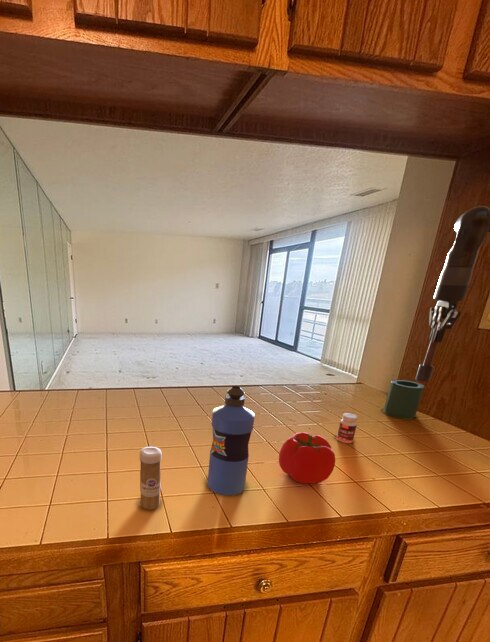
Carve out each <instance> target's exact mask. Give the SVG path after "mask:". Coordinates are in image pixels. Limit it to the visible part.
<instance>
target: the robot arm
mask: <svg viewBox="0 0 490 642" xmlns="http://www.w3.org/2000/svg"><path fill="white" fill-rule="evenodd" d="M454 231H455V234H456V237H455V240H454V243H453V246H452V247H451V248H450V249H449V251H448V253H447V256H446V259H445V263H444V265H443V269H442V271H441V273H440V276H439V279H438V282H437V285H436V289H435V292H434V295H433V299H434V300H435V301H437V302H436V303H435V307H430V309H429V315H428V316H429V317H428V326H430V328H431V330H430V333H429V337H428V340H429V341H431V338H432V335H433V332H434V329H435V325H438V326H437V330H436V333H435V336H434V339H433V341H434V342H439V343H442V342H443V340H444V336H445V333H446V331H448V330H451V329H452V328H453V326H454V325H455V323H456V322H457V320H458V318H459V317H460V315H461V314H462V313H461V311H460V310H459V311H458V310H457V308H458V302H462V301H464V300H465V298H466V295H467V292H468V289H469V287H470V286H469V285H470V283H471V280H472V277H473V273H474V268H475V265H476V262H477V259H478V256H479V251H480V249H481V247H482V245H483V243H484V241H485V239H486V237H487V235H488V234H489V233H490V206H486V205H478V206H474V207H472V208H470V209H469V210H466V211H464V212H463V213H462V214H461V215H460V216H459V217H458V218H457V219H456V221H455V223H454Z"/></svg>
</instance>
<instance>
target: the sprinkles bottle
mask: <svg viewBox="0 0 490 642" xmlns="http://www.w3.org/2000/svg"><path fill="white" fill-rule="evenodd" d="M139 461H140V470H139V471H140V472H139V489H140V490H139V491H140V501H139V505H140V507H142V509H145V510H150V511H151V510H156V509H157V508H159V507H160V505H161V475H162V473H161V471H162V470H161V462H162V449H160V448H159V447H156V446H145V447H142V448H141V449H140V450H139Z"/></svg>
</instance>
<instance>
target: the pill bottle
mask: <svg viewBox="0 0 490 642" xmlns="http://www.w3.org/2000/svg"><path fill="white" fill-rule="evenodd" d="M358 418H359V417H358V415H357V414H353V413H348V412H345V413H343V414H342V419H340V421H339V425H338V429H337V434H336V440H337V441H339V442H341V443H345V444H351V443H353V442H354V439H355V434H356V431H357V427H358V422H357V421H358Z"/></svg>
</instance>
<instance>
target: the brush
mask: <svg viewBox="0 0 490 642" xmlns="http://www.w3.org/2000/svg"><path fill="white" fill-rule="evenodd" d="M437 326H438V325H435V329H434V332H433V335H432V338H431V340H429V341H430V342H429V345H428V348H427V351H426V354H425V358H424V361H423V363H421V364H419V366H418V369H417V372H416V375H415V380H416V381H419V382H424V383H429V382H430V381H431V378H432V375H433V372H434V369H435V366H434V365H433V361H434V359H435V355H436V352H437V349H438V346H439V343H440V342H434V341H433V339H434V336H435V333H436V330H437Z"/></svg>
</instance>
